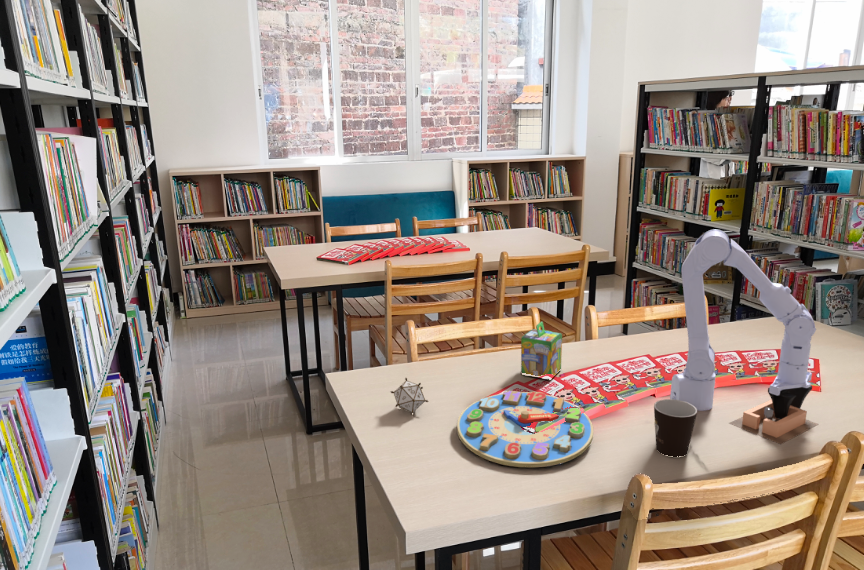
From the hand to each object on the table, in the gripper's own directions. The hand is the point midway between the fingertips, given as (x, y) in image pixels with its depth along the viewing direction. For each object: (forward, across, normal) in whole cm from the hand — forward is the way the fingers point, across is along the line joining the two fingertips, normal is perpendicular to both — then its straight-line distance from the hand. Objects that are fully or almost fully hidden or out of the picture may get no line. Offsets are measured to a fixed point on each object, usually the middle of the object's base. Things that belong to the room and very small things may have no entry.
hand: (786, 415), depth 147 cm
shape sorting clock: (+2, -54, +31) cm, 62 cm away
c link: (0, -5, 0) cm, 5 cm away
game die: (+2, -69, +56) cm, 89 cm away
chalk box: (+2, -26, +55) cm, 61 cm away
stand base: (+2, -5, 0) cm, 6 cm away
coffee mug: (+2, -31, +8) cm, 32 cm away
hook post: (0, -8, 0) cm, 8 cm away
